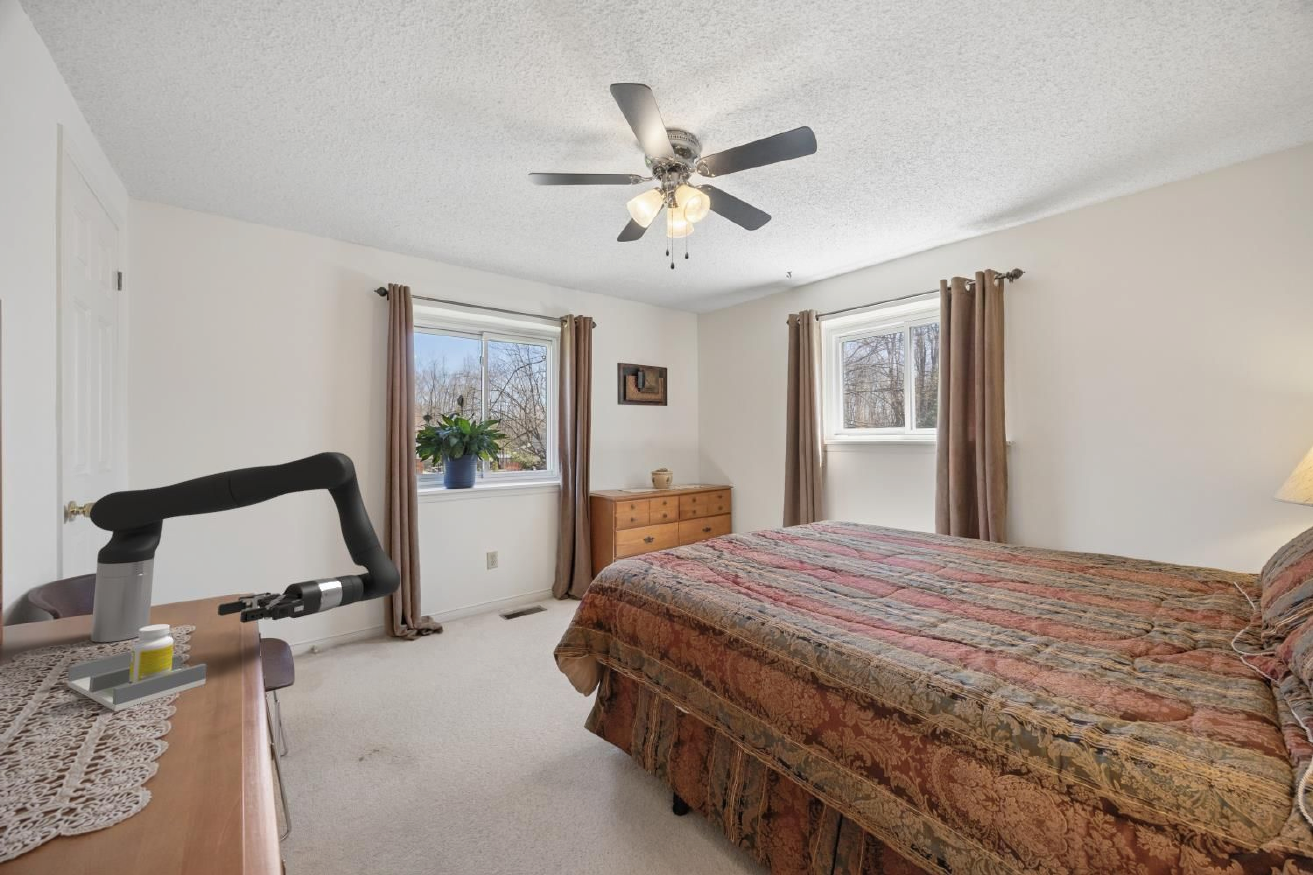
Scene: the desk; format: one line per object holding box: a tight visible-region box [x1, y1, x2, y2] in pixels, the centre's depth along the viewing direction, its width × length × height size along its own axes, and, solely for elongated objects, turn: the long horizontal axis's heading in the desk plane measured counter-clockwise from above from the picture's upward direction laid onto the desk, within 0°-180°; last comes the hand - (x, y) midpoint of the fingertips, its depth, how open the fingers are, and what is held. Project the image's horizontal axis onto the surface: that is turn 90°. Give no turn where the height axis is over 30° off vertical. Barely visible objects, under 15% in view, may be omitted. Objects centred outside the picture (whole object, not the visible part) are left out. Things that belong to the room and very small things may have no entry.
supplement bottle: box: [129, 623, 174, 684], centre depth 92 cm, size 5×5×10 cm
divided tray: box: [66, 650, 207, 712], centre depth 94 cm, size 20×12×4 cm, turn 64°
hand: (230, 613), depth 103 cm, fingers open, 8 cm apart
